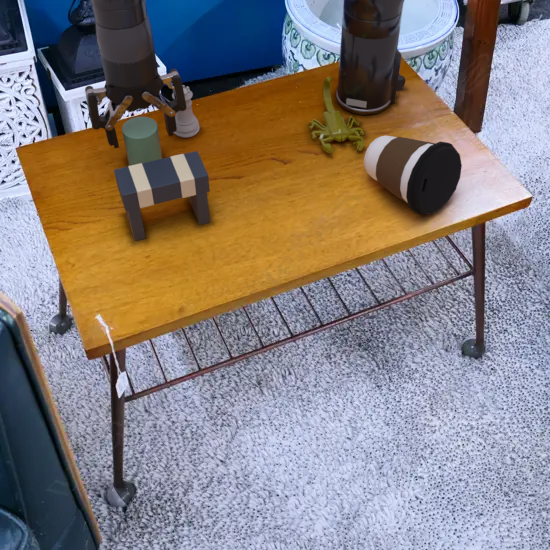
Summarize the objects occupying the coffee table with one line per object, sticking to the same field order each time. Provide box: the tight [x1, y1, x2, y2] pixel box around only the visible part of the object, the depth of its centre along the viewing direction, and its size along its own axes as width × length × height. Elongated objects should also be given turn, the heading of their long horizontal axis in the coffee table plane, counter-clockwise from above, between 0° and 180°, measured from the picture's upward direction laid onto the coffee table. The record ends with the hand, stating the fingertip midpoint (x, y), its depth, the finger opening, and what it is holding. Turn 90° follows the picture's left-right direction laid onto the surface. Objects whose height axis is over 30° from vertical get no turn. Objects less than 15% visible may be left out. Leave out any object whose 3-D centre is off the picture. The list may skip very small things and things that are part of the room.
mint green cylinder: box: [121, 116, 163, 166], centre depth 116 cm, size 5×5×6 cm
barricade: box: [113, 150, 211, 242], centre depth 107 cm, size 12×6×9 cm, turn 110°
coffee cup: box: [363, 135, 463, 216], centre depth 111 cm, size 11×11×12 cm
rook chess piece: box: [171, 84, 201, 139], centre depth 121 cm, size 4×4×8 cm
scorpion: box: [308, 76, 365, 154], centre depth 122 cm, size 9×15×6 cm, turn 11°
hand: (143, 139), depth 116 cm, fingers open, 8 cm apart
